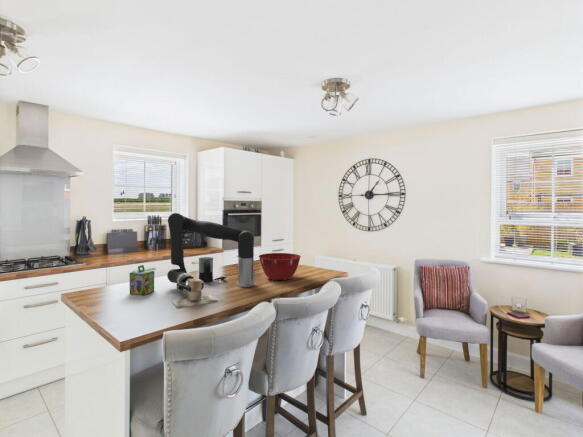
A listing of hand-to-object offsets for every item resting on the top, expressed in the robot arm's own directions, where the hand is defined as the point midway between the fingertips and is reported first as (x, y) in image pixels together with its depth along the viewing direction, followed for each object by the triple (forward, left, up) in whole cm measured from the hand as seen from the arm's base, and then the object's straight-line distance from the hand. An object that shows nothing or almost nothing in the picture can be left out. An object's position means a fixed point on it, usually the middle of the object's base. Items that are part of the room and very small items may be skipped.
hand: (196, 288), depth 151 cm
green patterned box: (+18, -33, -8) cm, 39 cm away
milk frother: (-23, -39, -8) cm, 46 cm away
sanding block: (0, -3, -6) cm, 7 cm away
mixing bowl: (-65, -23, -8) cm, 69 cm away
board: (-1, -2, -7) cm, 8 cm away
